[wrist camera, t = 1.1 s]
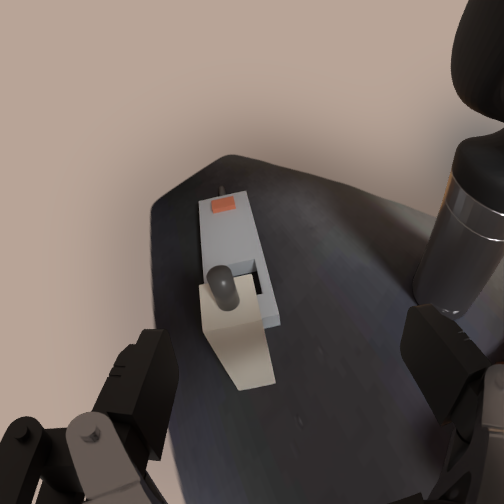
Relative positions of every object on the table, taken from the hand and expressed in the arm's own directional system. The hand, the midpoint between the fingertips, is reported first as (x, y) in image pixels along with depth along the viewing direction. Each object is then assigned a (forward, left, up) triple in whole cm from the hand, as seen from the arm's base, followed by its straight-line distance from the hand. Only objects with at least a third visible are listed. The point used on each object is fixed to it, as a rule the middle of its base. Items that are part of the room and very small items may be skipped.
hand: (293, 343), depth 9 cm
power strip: (-19, -20, -22) cm, 35 cm away
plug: (-4, -7, -22) cm, 24 cm away
